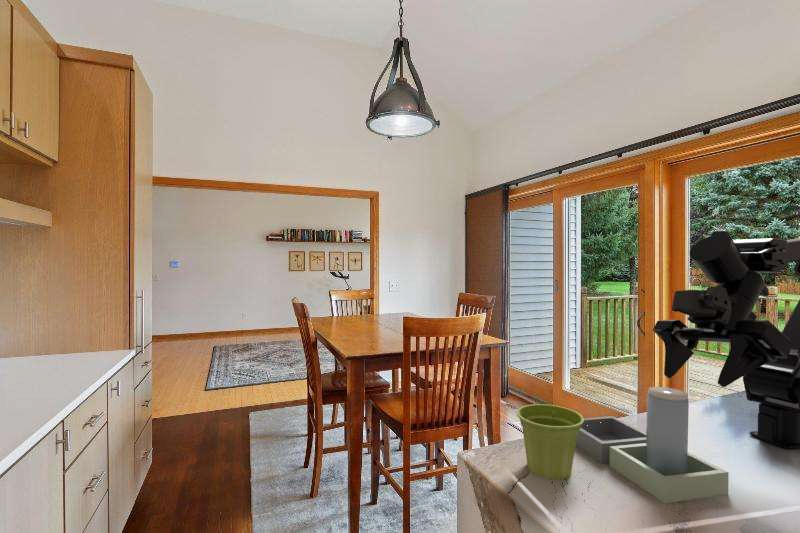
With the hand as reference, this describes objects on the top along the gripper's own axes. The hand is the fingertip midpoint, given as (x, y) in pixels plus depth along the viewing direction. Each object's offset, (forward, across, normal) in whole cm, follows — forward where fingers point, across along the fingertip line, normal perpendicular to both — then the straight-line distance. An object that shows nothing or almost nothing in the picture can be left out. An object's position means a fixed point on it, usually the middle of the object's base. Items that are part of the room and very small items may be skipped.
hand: (692, 380), depth 65 cm
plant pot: (+24, -5, -10) cm, 27 cm away
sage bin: (+16, +2, +2) cm, 16 cm away
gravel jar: (+15, +2, +2) cm, 16 cm away
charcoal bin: (+15, -9, +1) cm, 18 cm away
